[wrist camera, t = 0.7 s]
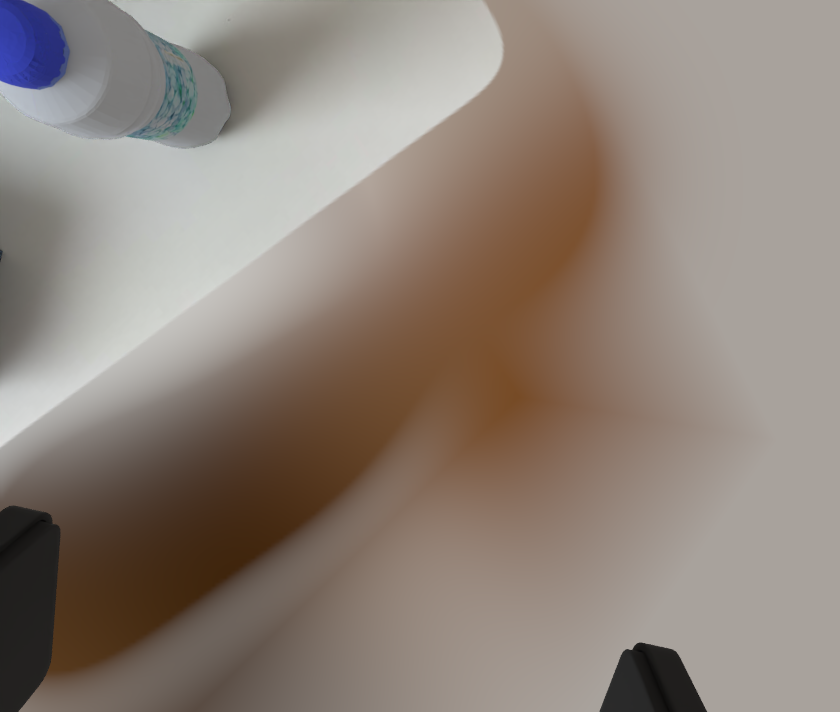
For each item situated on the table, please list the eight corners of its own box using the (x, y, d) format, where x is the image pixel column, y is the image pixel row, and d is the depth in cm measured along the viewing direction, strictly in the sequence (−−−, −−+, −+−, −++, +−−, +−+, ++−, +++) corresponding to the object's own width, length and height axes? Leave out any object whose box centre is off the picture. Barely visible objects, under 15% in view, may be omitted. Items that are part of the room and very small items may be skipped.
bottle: (204, 32, 42) (0, -99, 23) (259, 120, 44) (110, 67, 25) (128, 87, 44) (-126, 6, 24) (184, 171, 45) (-14, 159, 26)
